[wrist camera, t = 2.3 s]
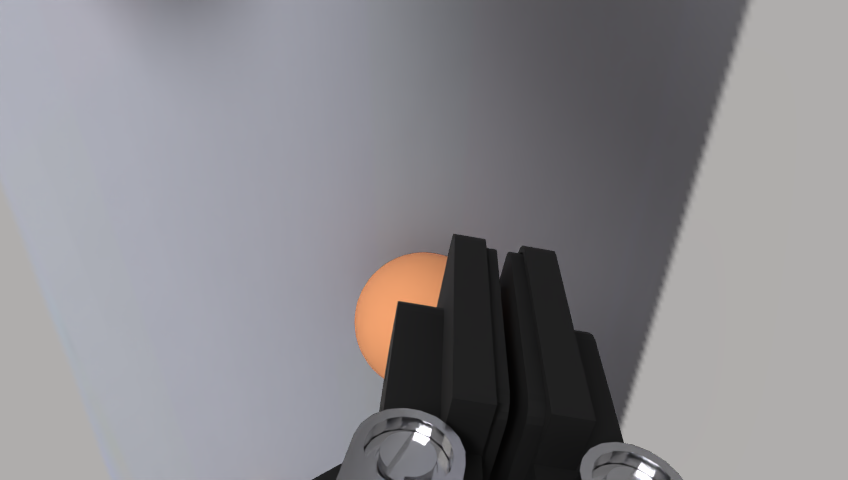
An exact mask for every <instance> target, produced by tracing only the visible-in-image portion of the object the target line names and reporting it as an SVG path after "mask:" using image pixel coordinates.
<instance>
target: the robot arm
mask: <svg viewBox="0 0 848 480" xmlns="http://www.w3.org/2000/svg"><path fill="white" fill-rule="evenodd" d="M312 480H683V479H682V478H681V476H680V475H679V473H677V472H676V471H675V470H674V469H673V468H672V467H671V466H670V465H669V464H668V463H667V462H666V461H664V460H662V459H661V458H659V457H658V456H656V455H655V454H653V453H652V452H650V451H648V450H645V449H643V448H640V447H637V446H635V445H632V444H626V443H624V442H623V438H622V434H621V431H620V427H619V424H618V420H617V417H616V413H615V409H614V406H613V402H612V399H611V395H610V391H609V388H608V384H607V381H606V377H605V374H604V370H603V366H602V363H601V359H600V356H599V352H598V349H597V345H596V341H595V339H594V337H593V335H592V334H590V333H588V332H582V331H576V330H574V328H573V323H572V319H571V315H570V311H569V307H568V303H567V299H566V294H565V290H564V286H563V282H562V278H561V274H560V270H559V265H558V261H557V257H556V254H555V251H550V250H544V249H539V248H533V247H527V246H522V247H521V248H520V250H519V252H518V253H513V252H508V254H507V256H506V259H505V262H504V266H503V270H502V274H501V277H500V280H499V270H498V259H497V251H496V250H495V249H489V248H486V240H485V239H480V238H475V237H469V236H463V235H457V234H453V237H452V240H451V244H450V249H449V253H448V258H447V262H446V267H445V271H444V276H443V280H442V285H441V289H440V294H439V298H438V303H437V307H432V306H426V305H420V304H414V303H408V302H402V301H398V304H397V308H396V314H395V319H394V324H393V330H392V335H391V341H390V346H389V352H388V358H387V364H386V370H385V376H384V383H383V389H382V396H381V403H380V410H379V412H378V413H375V414H373V415H371V416H370V417H369V418H367V419H366V420H365V421H363V422H362V423H361V424H360V426H359V427H358V429H357V430H356V432H355V433H354V435H353V438H352V440H351V443H350V445H349V448H348V450H347V453H346V456H345V458H344V461H343V463H342V464H340V465H338V466H336V467H334V468H332V469H331V470H329V471H327V472H325V473H323V474H321V475H320V476H318V477H316V478H314V479H312Z"/></svg>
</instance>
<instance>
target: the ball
mask: <svg viewBox="0 0 848 480" xmlns="http://www.w3.org/2000/svg"><path fill="white" fill-rule="evenodd" d="M447 258H448V257H447V256H444V255H440V254H436V253H428V252H420V253H412V254H407V255H404V256H401V257H398V258H396V259H394V260H392V261H390V262H388V263H386V264H385V265H383V266H382V267H381V268H380V269H379V270H378V271H376V272H375V273H374V274H373V275H372V277H371V278H370V279H369V280H368V282H367V283H366V285H365V287H364V288H363V290H362V292H361V294H360V297H359V299H358V302H357V306H356V312H355V332H356V338H357V341H358V345H359V347H360V350H361V352H362V354H363V356H364V357H365V359H366V361H367V362H368V364H369V365H370V366H371V367H372V369H373V370H374V371H375V372H377V373H378V374H379V375H380V376H381V377H382V378H384V376H385V370H386V364H387V358H388V352H389V346H390V341H391V335H392V330H393V324H394V319H395V314H396V308H397V304H398V301H402V302H408V303H414V304H420V305H426V306H432V307H437V303H438V298H439V294H440V289H441V285H442V280H443V276H444V271H445V267H446V262H447Z"/></svg>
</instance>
